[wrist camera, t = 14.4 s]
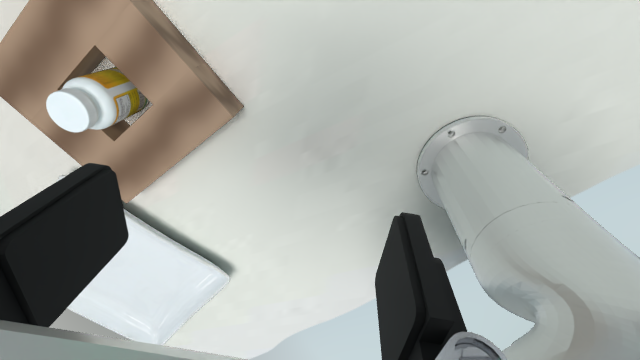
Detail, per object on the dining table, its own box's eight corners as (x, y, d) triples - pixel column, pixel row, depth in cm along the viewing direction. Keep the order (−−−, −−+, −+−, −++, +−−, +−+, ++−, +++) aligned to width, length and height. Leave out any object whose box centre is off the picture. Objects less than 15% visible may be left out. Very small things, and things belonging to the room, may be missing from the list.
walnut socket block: (243, 106, 38) (233, 117, 35) (143, 188, 45) (126, 203, 42) (103, -57, 31) (73, -64, 28) (10, 69, 38) (-23, 76, 35)
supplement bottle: (160, 100, 39) (108, 128, 30) (127, 117, 40) (68, 147, 32) (131, 57, 36) (66, 74, 28) (97, 76, 38) (25, 98, 30)
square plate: (27, 264, 56) (6, 281, 52) (79, 160, 44) (57, 173, 41) (164, 336, 63) (153, 355, 60) (239, 263, 52) (232, 281, 48)
